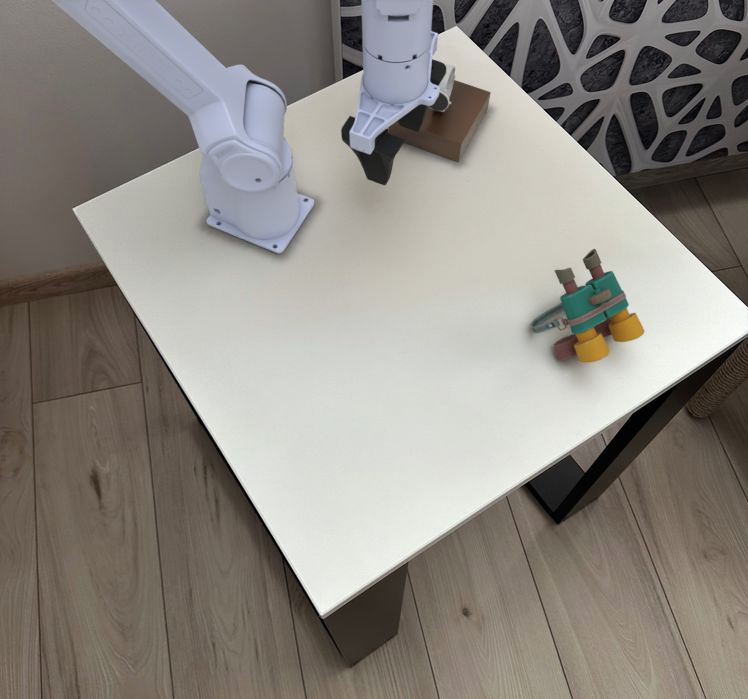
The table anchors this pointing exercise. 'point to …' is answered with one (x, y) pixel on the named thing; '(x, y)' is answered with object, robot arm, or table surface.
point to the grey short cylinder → (445, 90)
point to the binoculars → (590, 314)
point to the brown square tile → (449, 123)
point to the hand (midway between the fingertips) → (394, 152)
